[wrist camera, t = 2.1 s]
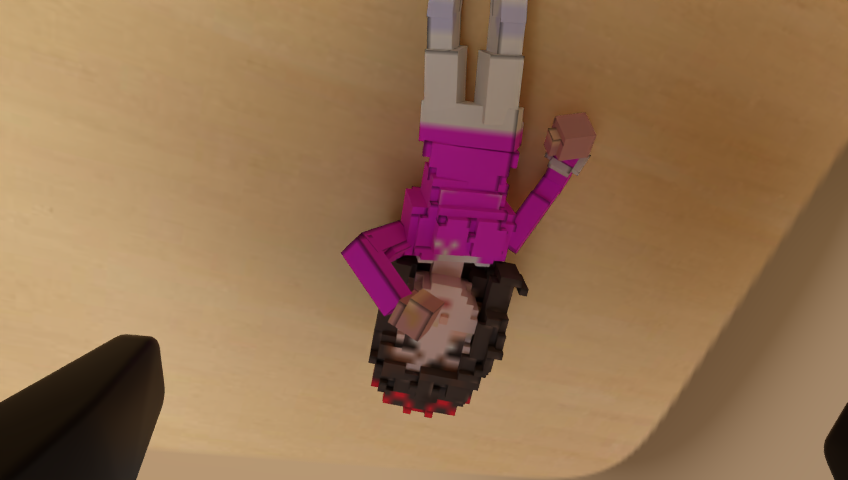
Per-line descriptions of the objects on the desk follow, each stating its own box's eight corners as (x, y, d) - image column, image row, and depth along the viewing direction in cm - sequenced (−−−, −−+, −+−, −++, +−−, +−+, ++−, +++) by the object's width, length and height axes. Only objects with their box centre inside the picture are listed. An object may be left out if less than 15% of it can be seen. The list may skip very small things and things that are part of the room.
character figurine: (365, -109, 13) (346, 347, 18) (349, -172, 9) (329, 472, 13) (609, -84, 14) (533, 356, 18) (721, -132, 9) (581, 480, 13)
